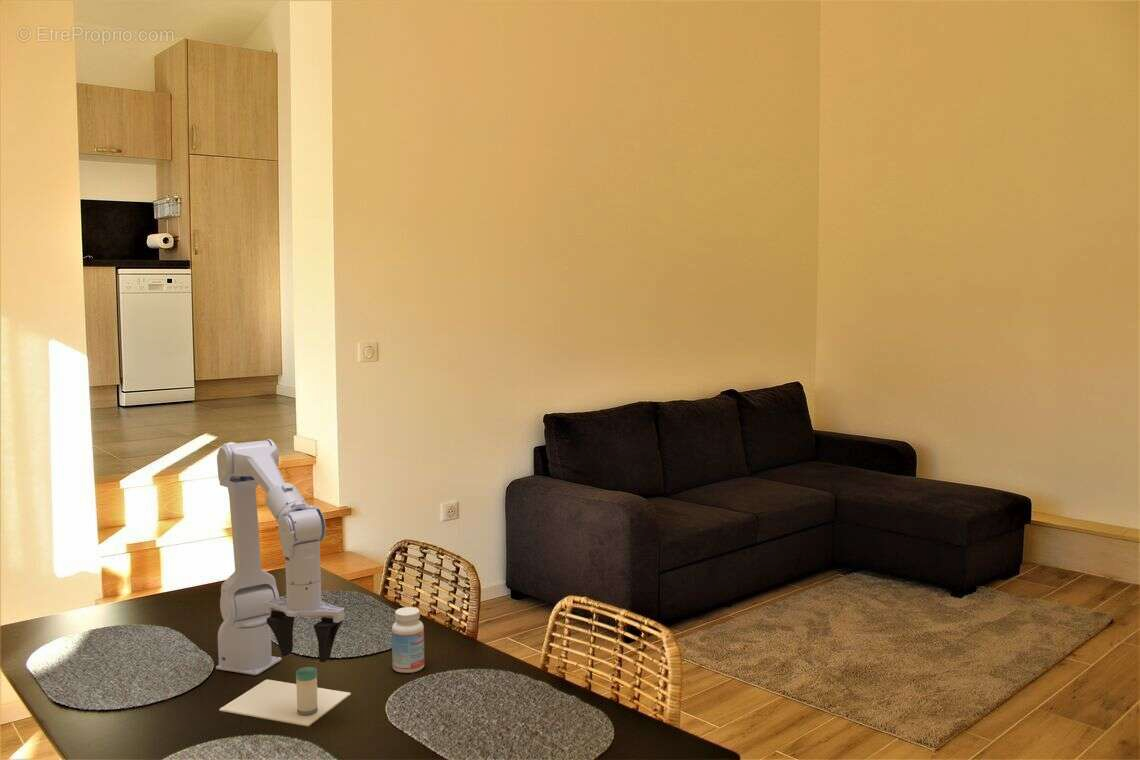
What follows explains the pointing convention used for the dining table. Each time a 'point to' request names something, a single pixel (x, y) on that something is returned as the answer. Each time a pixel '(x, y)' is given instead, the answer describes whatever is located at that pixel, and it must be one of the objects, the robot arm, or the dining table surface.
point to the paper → (281, 703)
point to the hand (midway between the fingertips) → (305, 657)
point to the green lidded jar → (306, 691)
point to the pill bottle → (407, 641)
